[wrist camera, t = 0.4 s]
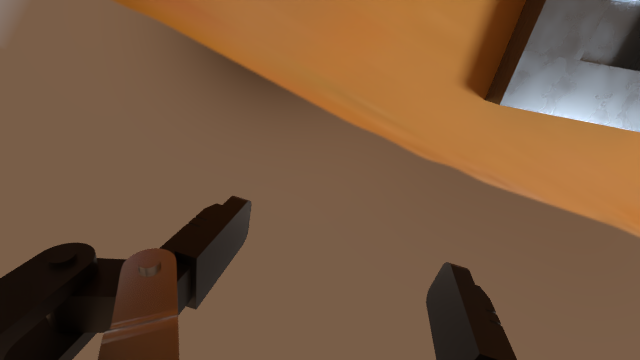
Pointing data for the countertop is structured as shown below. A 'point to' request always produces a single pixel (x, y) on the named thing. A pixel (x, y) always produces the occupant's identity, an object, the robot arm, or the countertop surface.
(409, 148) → the countertop surface
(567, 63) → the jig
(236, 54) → the countertop surface
